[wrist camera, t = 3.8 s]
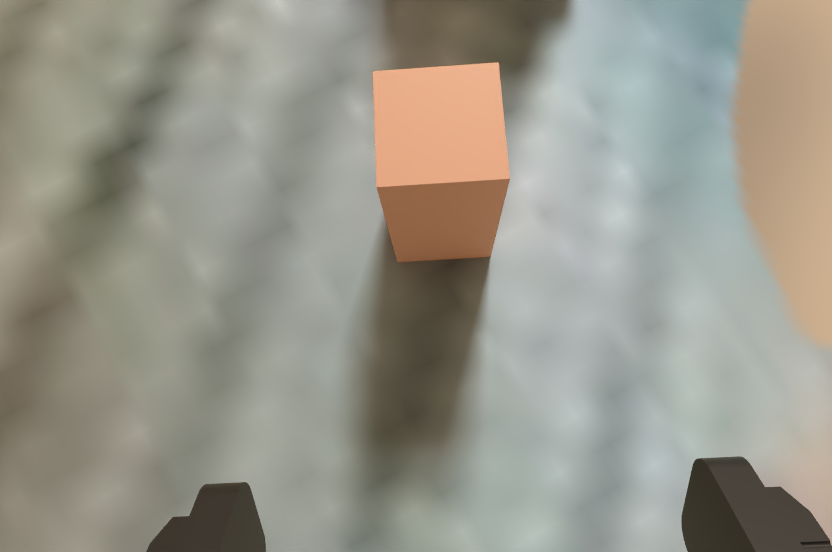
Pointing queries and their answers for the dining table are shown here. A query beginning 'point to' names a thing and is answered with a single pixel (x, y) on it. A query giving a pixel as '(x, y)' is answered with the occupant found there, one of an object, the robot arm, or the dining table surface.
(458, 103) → the terracotta block
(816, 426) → the dining table surface
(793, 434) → the dining table surface
